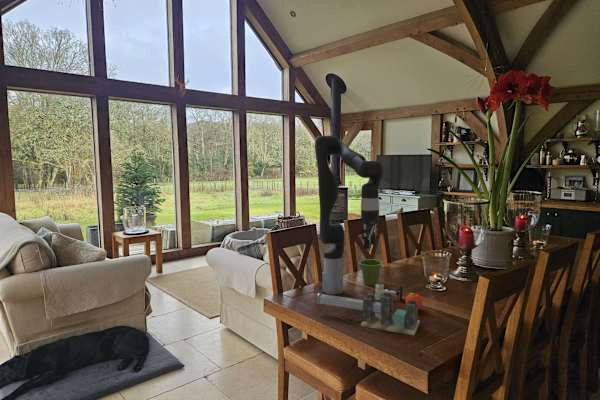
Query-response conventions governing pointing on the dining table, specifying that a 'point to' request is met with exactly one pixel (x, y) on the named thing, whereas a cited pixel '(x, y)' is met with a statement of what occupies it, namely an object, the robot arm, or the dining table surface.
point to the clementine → (414, 297)
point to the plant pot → (370, 271)
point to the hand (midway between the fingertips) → (370, 246)
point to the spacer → (400, 318)
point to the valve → (380, 291)
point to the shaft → (345, 302)
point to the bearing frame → (389, 315)
